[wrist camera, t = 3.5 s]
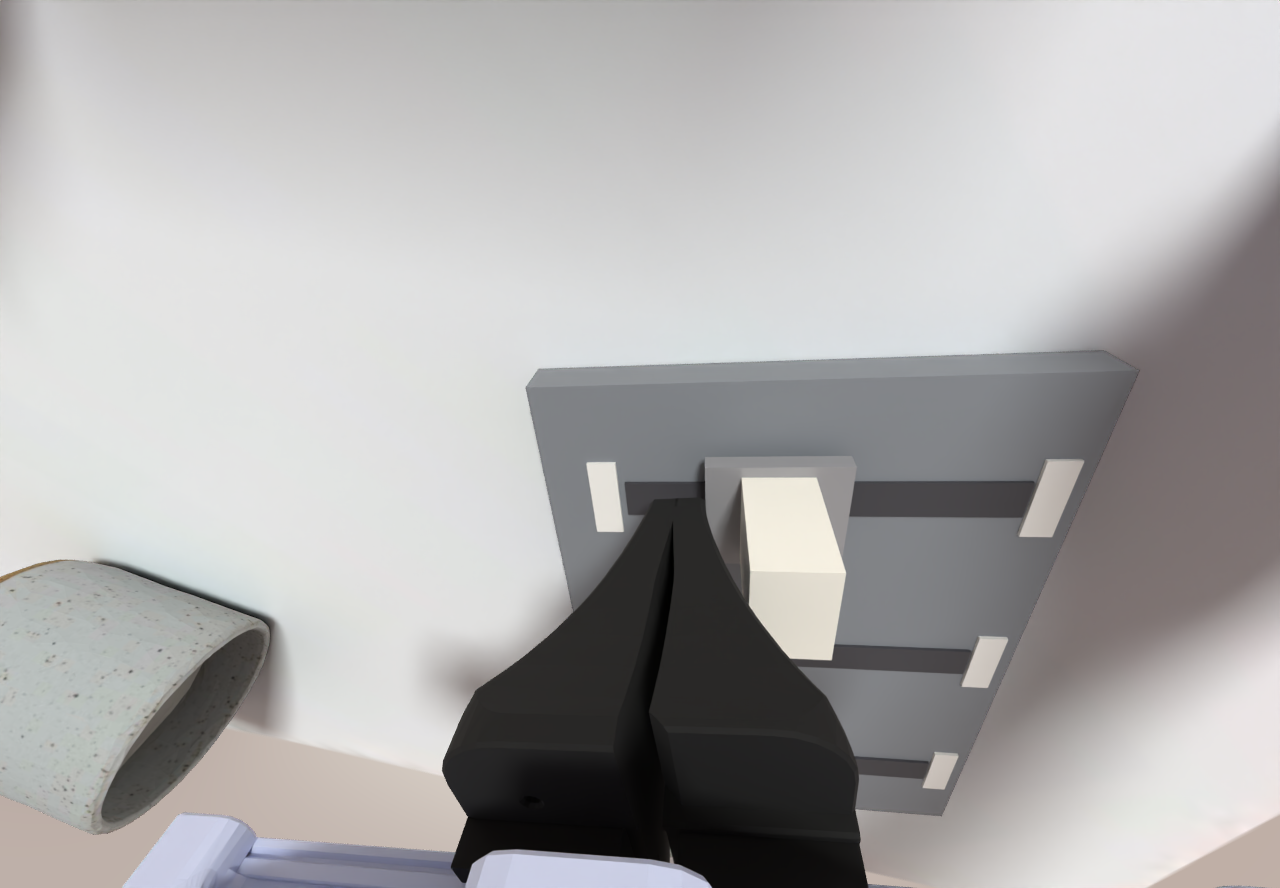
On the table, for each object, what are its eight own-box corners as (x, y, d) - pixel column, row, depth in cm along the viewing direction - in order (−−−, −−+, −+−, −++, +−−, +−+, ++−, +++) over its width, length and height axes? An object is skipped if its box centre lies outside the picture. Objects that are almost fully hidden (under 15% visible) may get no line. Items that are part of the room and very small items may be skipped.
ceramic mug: (67, 511, 20) (-231, 694, 13) (275, 585, 21) (85, 788, 14) (110, 654, 25) (-88, 832, 19) (272, 708, 26) (134, 893, 20)
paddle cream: (852, 455, 13) (898, 562, 10) (837, 552, 14) (873, 671, 11) (705, 457, 13) (704, 558, 10) (707, 550, 15) (706, 663, 12)
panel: (1104, 350, 12) (1173, 390, 10) (930, 785, 23) (951, 844, 21) (538, 368, 14) (513, 405, 12) (615, 761, 25) (607, 813, 23)
